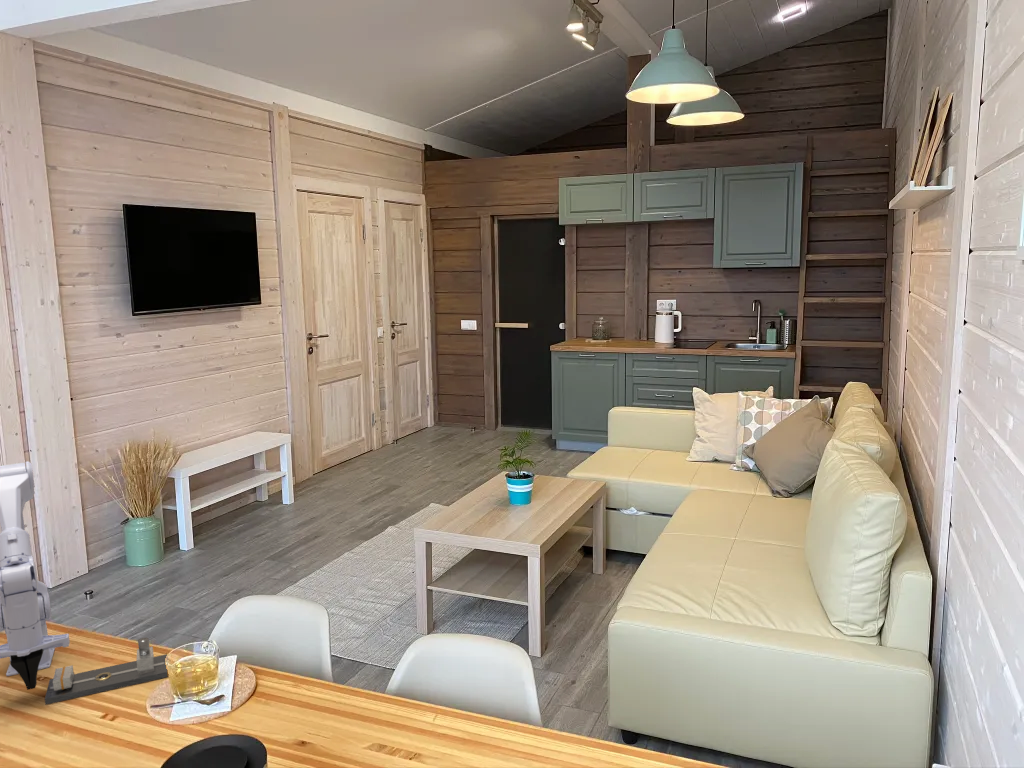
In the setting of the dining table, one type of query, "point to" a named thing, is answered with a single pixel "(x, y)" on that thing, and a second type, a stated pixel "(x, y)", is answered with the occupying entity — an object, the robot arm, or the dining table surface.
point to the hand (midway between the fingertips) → (31, 686)
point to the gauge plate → (113, 676)
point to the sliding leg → (63, 678)
